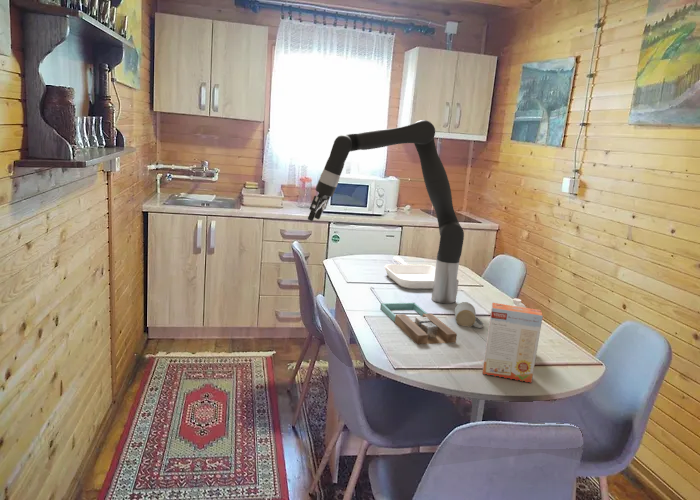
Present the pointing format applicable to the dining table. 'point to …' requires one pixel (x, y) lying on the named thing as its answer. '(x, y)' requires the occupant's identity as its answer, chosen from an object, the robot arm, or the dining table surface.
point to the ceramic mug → (467, 315)
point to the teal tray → (400, 308)
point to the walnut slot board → (420, 336)
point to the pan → (411, 274)
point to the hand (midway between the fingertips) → (313, 219)
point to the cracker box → (512, 342)
